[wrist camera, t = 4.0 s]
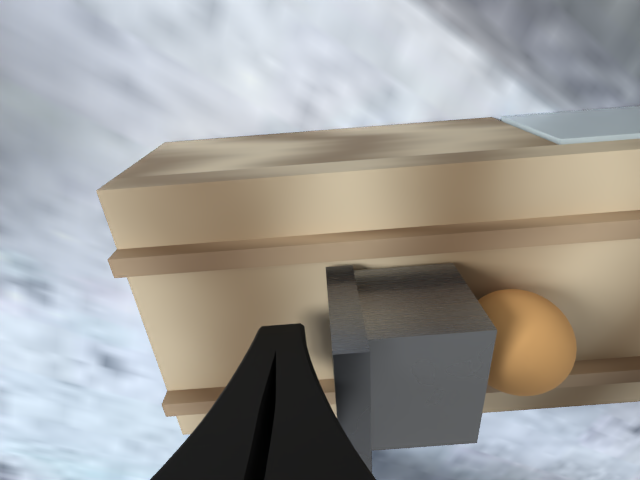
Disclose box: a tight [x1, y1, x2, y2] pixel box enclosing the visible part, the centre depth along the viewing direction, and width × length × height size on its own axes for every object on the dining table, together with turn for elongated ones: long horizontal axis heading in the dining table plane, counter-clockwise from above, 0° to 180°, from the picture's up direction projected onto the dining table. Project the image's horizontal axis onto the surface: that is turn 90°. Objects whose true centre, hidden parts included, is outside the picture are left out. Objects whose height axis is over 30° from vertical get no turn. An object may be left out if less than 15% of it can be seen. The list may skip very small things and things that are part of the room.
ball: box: [478, 289, 577, 396], centre depth 11 cm, size 3×3×3 cm
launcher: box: [97, 117, 640, 435], centre depth 15 cm, size 18×10×6 cm, turn 94°
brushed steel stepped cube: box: [326, 263, 497, 473], centre depth 11 cm, size 4×4×4 cm
